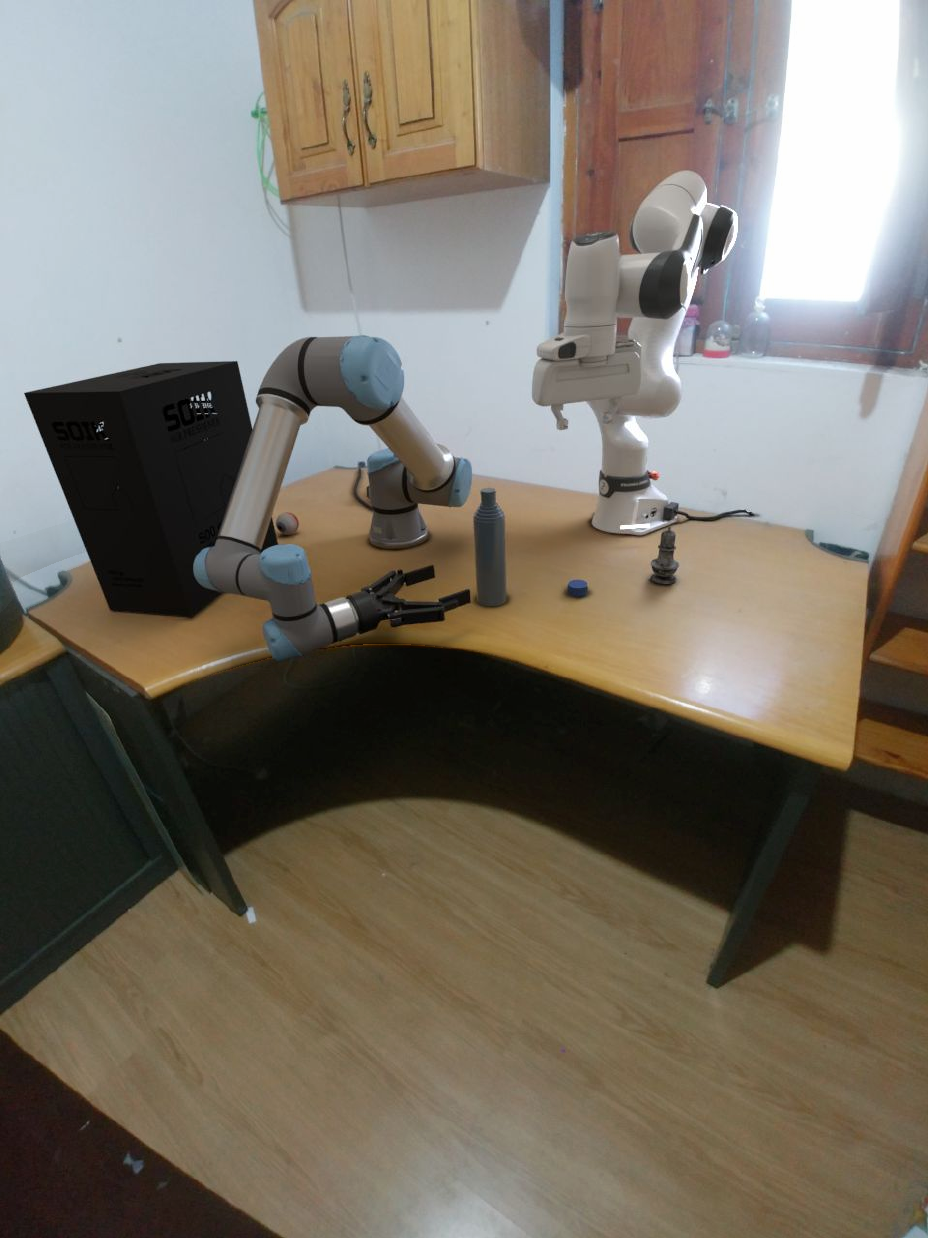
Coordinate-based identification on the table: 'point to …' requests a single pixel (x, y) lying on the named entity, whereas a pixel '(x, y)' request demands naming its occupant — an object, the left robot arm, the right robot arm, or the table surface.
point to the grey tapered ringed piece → (665, 559)
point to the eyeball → (287, 523)
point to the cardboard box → (148, 474)
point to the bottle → (490, 550)
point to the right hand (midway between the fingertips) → (585, 426)
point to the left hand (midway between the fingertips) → (451, 582)
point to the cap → (577, 588)
